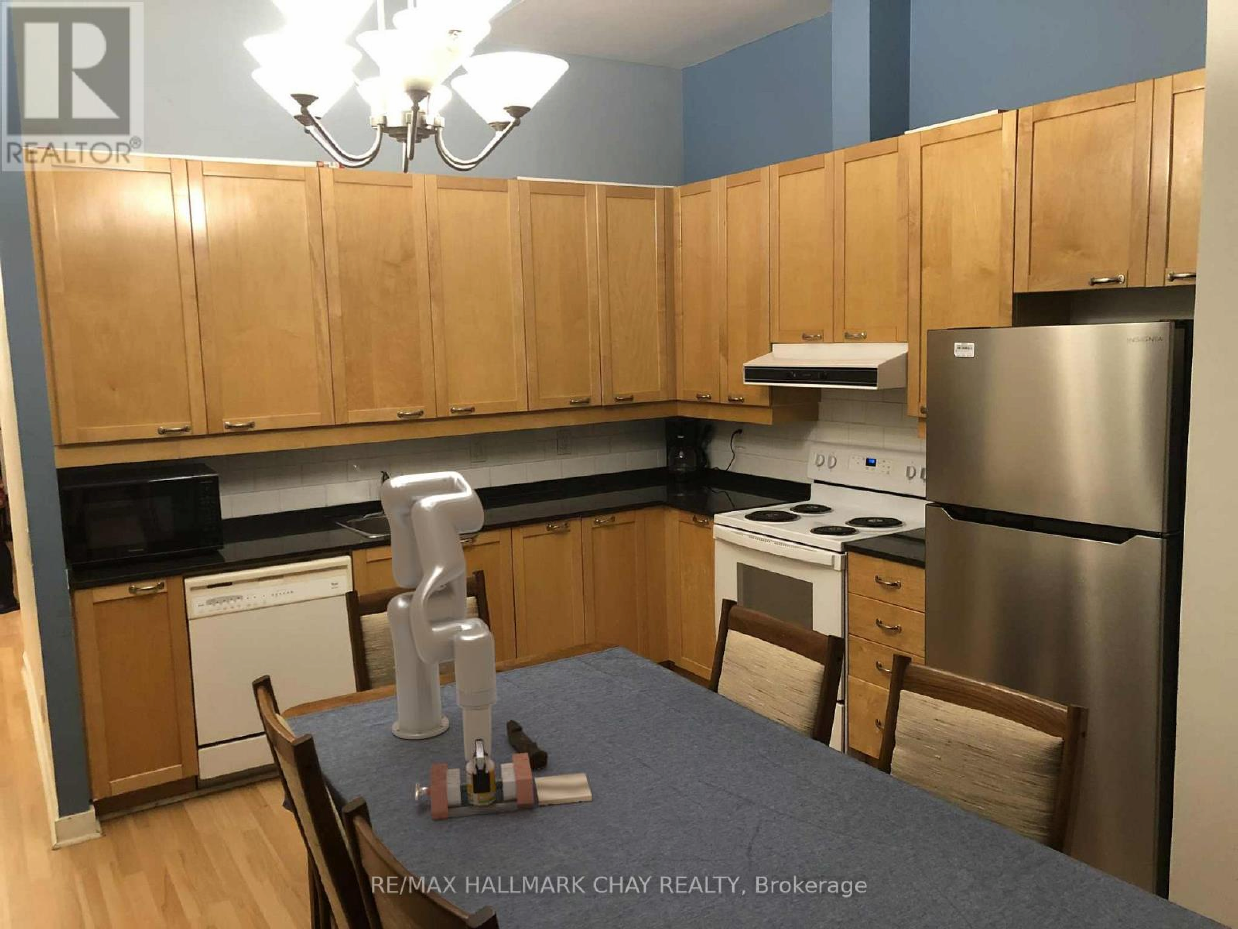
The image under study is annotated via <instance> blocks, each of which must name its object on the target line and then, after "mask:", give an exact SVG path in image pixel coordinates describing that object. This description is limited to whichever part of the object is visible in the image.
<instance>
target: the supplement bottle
mask: <svg viewBox="0 0 1238 929" xmlns="http://www.w3.org/2000/svg"><path fill="white" fill-rule="evenodd" d="M474 755H475V752H474ZM484 755H485V754H483V756H484ZM475 756H477V755H475ZM467 762H468V763H467V764H466V766H465V770H466V772H465V773H466V775H465V776H466V782H467V791H466V792H467V801H468V803H469V804H470V805H472V804H473V805H472V806H476V805H477V806H478V805H486V804H493V803H494V802H495V800H496V799H497V788H496V784H495V779H496V770H495V768H496V767H495V763H494V761H493V760H492V759H491V757H490V758H489V759H488V771H490V788H491V791H490V792H489V793H479V794H474V793H473V778H472V772H474V771H473V759H472V760H469V761H467ZM476 763H477V761H476ZM484 763H485V760H484ZM493 801H494V802H493Z"/></svg>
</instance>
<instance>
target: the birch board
mask: <svg viewBox="0 0 1238 929" xmlns="http://www.w3.org/2000/svg"><path fill="white" fill-rule="evenodd" d="M534 786H535V791H536V795H537V796H538V797H537V796H536V797H537V801H539V802H538V806H539V807H541V806H540V805H545V806H549V805H548V804H554V805H560V804H561V805H562V804H571V803H572V802H573V803H580V802H579V801H582V802H588V801H589V802H590V801H593V797H592V796H593V795H592V792H591V788H590V785H589V781H588V779H587V775H586V772H580V773H569V774H559V775H551V776H541V777H540V776H539V777H534ZM573 803H572V804H573Z"/></svg>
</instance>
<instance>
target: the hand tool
mask: <svg viewBox="0 0 1238 929" xmlns="http://www.w3.org/2000/svg"><path fill="white" fill-rule="evenodd" d="M506 732H507V734H506V735H507V737H508V741H509V742H510V743H509V744H510V746H511V747H513V746H515V748H516V749H517V751H518V752H519V754H520V753H528V757H529V763H530V768H531V771H535V769H536V770H539V769H538V768H541V769H543V768H545V767H546V766H547V764H548V760H549V754H548V752H547V751H546V750H542V749H541V748H540V747H539V746H538V744H537V742H536V741H533V740H532V739H531V738H530V737H529V736H528V735H527V734H526V733H525V732H524V730H523V727H522V726H521V725H520V723H519V722H518V721H515V720H514V719H510V720H508V721H507V722H506ZM542 767H543V768H542Z"/></svg>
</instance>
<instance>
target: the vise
mask: <svg viewBox="0 0 1238 929" xmlns="http://www.w3.org/2000/svg"><path fill="white" fill-rule="evenodd" d="M511 755H512V762H510V763H509V762H508V763H501V764H500V769H501V770H500V773H501V775H500V776H501V778H495V784H496V787H497V788H501V790H502V791H503V792H502V791H501V792H502V797H503V798H502V799H503V802H500V803H491V804H488V805H478V806H476V805H470V806H462V793H461V792H462V791H461V790H467V781H465V782H464V781H463V782H461V773H460V768H449V769H448V764H447V762H440V763H431V764H430V781H429V782H430V783H429V784H430V786H424V787H421V783H419V782H416V783H415V787H414V788H415V791H414V800H415V801H416V802H418V801H419V800H420V796H423V795H429V796H430V798H429V799H430V812H431V820H432V819H433V820H439V819H438V818H442V819H448V818H449V817H452V818H459V817H460V818H461V817H469V815H470V816H475V815H474V814H480V815H485V814H484V813H489V814H492V813H491V812H498V813H503V812H502V811H508V812H516V810H517V811H525V810H532V809H531V808H535V807H534V805H535V804H534V803H535V802H534V786H533V785H534V782H533V775H532V769H531V768H530V763H529V757H528V753H520V752H519V753H513V754H511ZM501 786H502V787H501ZM449 819H450V818H449Z"/></svg>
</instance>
